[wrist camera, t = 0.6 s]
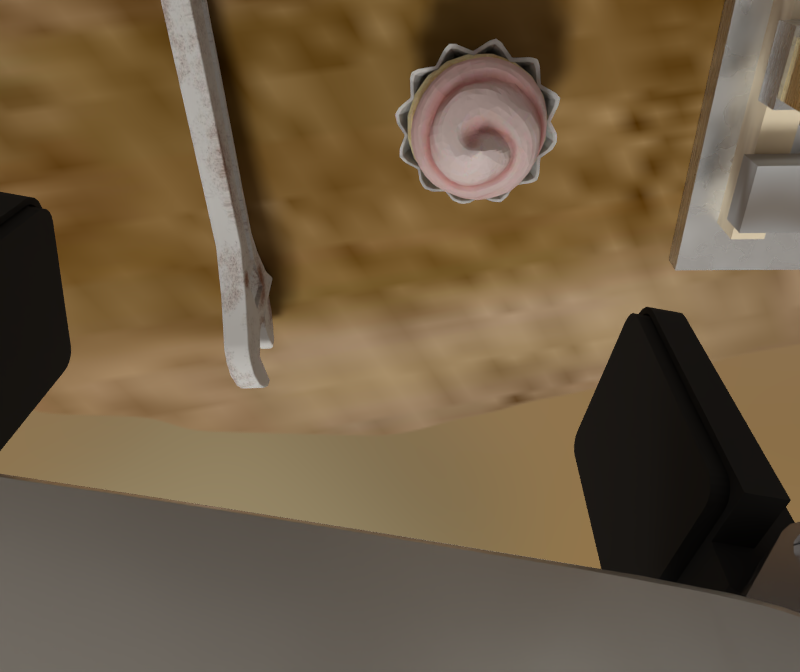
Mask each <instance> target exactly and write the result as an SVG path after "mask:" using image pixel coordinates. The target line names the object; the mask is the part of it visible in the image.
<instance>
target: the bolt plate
mask: <svg viewBox="0 0 800 672" xmlns="http://www.w3.org/2000/svg"><path fill="white" fill-rule="evenodd" d="M772 4H773V0H725V3H724V8H723V12H722V17H721V22H720V26H719V31H718V36H717V40H716V45H715V49H714V54H713V59H712V63H711V68H710V72H709V77H708V82H707V86H706V91H705V96H704V100H703V105H702V109H701V114H700V119H699V123H698V128H697V133H696V137H695V142H694V146H693V151H692V156H691V160H690V165H689V169H688V174H687V179H686V183H685V188H684V193H683V197H682V202H681V206H680V211H679V216H678V220H677V225H676V229H675V234H674V239H673V243H672V248H671V253H670V257H669V261H670V263H671V264H672V266H673V268H674V269H675V270H798V269H800V233H766V235H765V238H764V239H730V238H729V236H728V235H727V234H726V233H725V232H724V230H723V229H722V228H721V227H720V226H719V224H718V223H717V221H718V217H719V213H720V209H721V205H722V201H723V197H724V193H725V189H726V185H727V181H728V178H729V174H730V170H731V166H732V162H733V158H734V154H735V150H736V146H737V142H738V138H739V134H740V130H741V126H742V122H743V118H744V114H745V111H746V107H747V103H748V99H749V95H750V91H751V87H752V83H753V79H754V75H755V71H756V67H757V63H758V59H759V55H760V51H761V47H762V44H763V40H764V36H765V32H766V28H767V24H768V20H769V16H770V12H771V8H772ZM790 153H800V122H799V125H798V129H797V132H796V135H795V139H794V142H793V145H792V148H791V152H790Z"/></svg>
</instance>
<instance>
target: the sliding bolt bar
mask: <svg viewBox="0 0 800 672" xmlns="http://www.w3.org/2000/svg"><path fill="white" fill-rule="evenodd" d="M792 19H800V0H773V4H772V8H771V12H770V16H769V20H768V24H767V28H766V32H765V36H764V40H763V44H762V47H761V51H760V55H759V59H758V63H757V67H756V71H755V75H754V79H753V83H752V87H751V91H750V95H749V99H748V103H747V107H746V111H745V114H744V118H743V122H742V126H741V130H740V134H739V138H738V142H737V146H736V150H735V154H734V158H733V162H732V166H731V170H730V174H729V178H728V181H727V185H726V189H725V193H724V197H723V201H722V205H721V209H720V213H719V217H718V221H717V223H718V224H719V226H720V227H721V228H722V229H723V230H724V232H725V233H726V234H727V235H728V236H729V238H730V239H764V238H765V235H766V233H800V153H790V152H791V148H792V145H793V142H794V139H795V135H796V132H797V129H798V125H799V122H800V112H799V111H797V110H772V109H771V108H769V107H768V106H766V105H765V104H763V103H761V102H760V101H758V99H759V95H760V91H761V87H762V83H763V80H764V76H765V72H766V68H767V64H768V60H769V57H770V53H771V49H772V45H773V41H774V38H775V34H776V30H777V26H778V22H779V20H792Z"/></svg>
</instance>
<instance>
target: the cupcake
mask: <svg viewBox="0 0 800 672" xmlns="http://www.w3.org/2000/svg"><path fill="white" fill-rule="evenodd" d="M410 90H411V98H410V99H409V100H407V101H406V102H405V103H404V104H403V105H401V106H400V107H399V109H398V111H397V112H396V114H395V116H396V120H397V124H398V125H399V127H400V128H401V130H402V131H403V133H404V135H405V137H404V139H403V142H402V145H401V147H400V158H401V159H402V160H403V161H404V162H405V163H407V164H409V165H411V166H413V167H415V168H417V169H418V173H419V179H420V182H421V184H422V185H423V187H424V188H425V189H427V190H430V191H446V193H447V194H448V195H449V196H450V198H451V199H452V200H453V201H456V202H458V203H470V202H472V201H474V200H480V199H487V200H490V201H493V202H501V201H502V200H504V199H505V198H506V197H507V196H508V194H509V193H510V191H511V190H512V189H513V188H515V187H516V186H517V185H519V184H526V183H532V182H534V181H536V180H537V179H538V176H539V169H540V158H541V157H543V156H544V155H545V154H547V153H548V152H549V151H551V150H552V149H553V147H554V146H555V144H556V142H557V133H556V131H555V129H554V127H553V125H552V123H551V119H552V117H553V115H554V113H555V111H556V109H557V107H558V105H559V101H560V97H559V96H558V95H557V94H556V93H555V92H553V91H551V90H550V89H548V88H546V87H544V86H543V85H541V79H540V65H539V62H538V59H535V58H532V57H525V58H512V57H511V55H510V54H509V52H508V51H507V50H506V48H505V47H504V45H503V44H502V43H501V42H500V41H499V40H498V39H493V40H490V41H488V42H487V43H485V44H483V45H482V46H480V47H479V48H477V49H476V50H474V51H472V50H469V49H467V48H464V47H462V46H459V45H457V44H449V45H448V46H447V47H446V48H445V49H444V51H443V53H442V55H441V57H440V59H439V61H438V62H437V64H436V66H434V67H428V68H422V69H417V70H415V71H413V72H412V73H411V78H410Z"/></svg>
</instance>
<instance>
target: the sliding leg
mask: <svg viewBox="0 0 800 672" xmlns="http://www.w3.org/2000/svg"><path fill="white" fill-rule="evenodd" d="M758 101H760V102H761V103H763V104H765V105H766V106H768V107H769V108H771V109H772V110H797V111H799V112H800V19H792V20H779V22H778V26H777V30H776V34H775V38H774V41H773V45H772V49H771V53H770V57H769V60H768V64H767V68H766V72H765V76H764V80H763V83H762V87H761V91H760V95H759V99H758Z"/></svg>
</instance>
